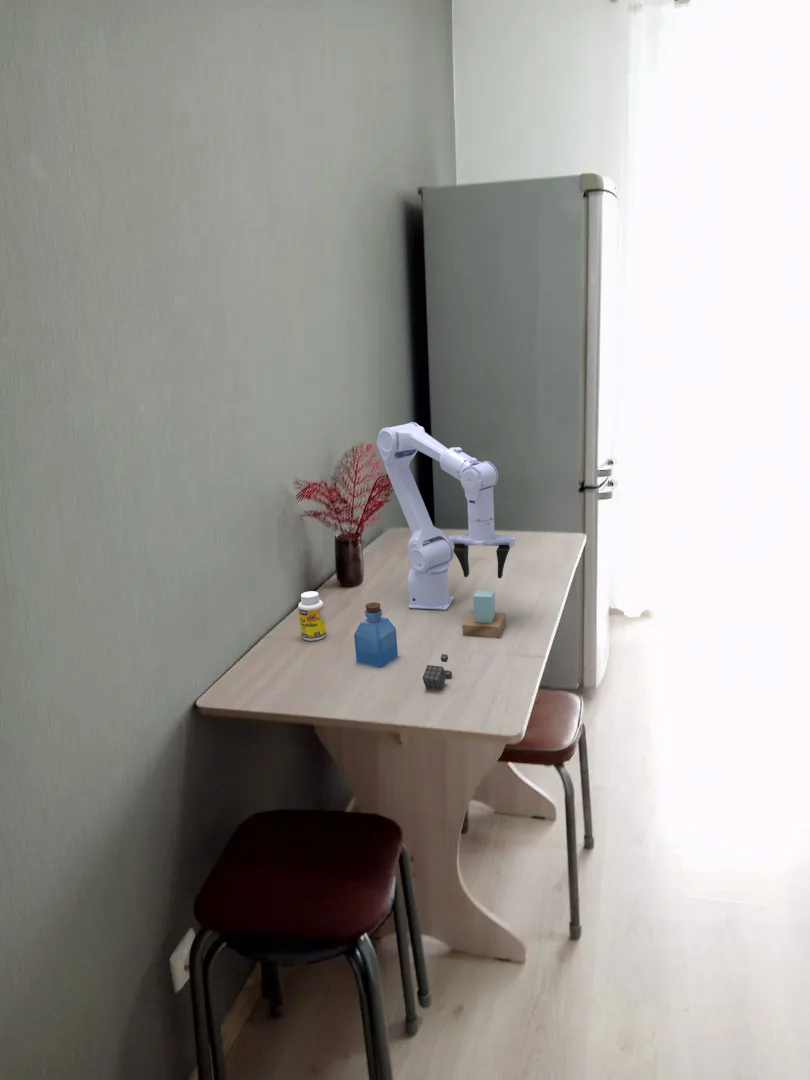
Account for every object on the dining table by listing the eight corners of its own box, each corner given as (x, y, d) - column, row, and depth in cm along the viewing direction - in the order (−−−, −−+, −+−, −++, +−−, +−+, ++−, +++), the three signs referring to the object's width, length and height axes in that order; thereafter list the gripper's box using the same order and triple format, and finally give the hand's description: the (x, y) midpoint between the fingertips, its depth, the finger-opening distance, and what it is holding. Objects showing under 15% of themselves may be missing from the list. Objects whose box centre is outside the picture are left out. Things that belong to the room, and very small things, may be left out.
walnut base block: (463, 637, 178) (462, 625, 177) (471, 623, 185) (470, 611, 185) (499, 640, 176) (498, 627, 175) (506, 625, 183) (505, 613, 182)
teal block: (474, 622, 178) (473, 596, 177) (477, 615, 182) (476, 590, 180) (492, 622, 177) (491, 597, 176) (495, 616, 181) (494, 590, 179)
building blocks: (422, 678, 154) (434, 645, 159) (428, 695, 157) (440, 662, 162) (438, 680, 152) (450, 646, 158) (444, 697, 156) (455, 664, 161)
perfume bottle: (381, 667, 165) (377, 612, 162) (356, 662, 169) (351, 608, 165) (397, 655, 170) (393, 602, 167) (373, 650, 174) (368, 598, 170)
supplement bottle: (297, 641, 181) (292, 597, 178) (307, 631, 186) (303, 589, 183) (320, 642, 180) (316, 599, 177) (330, 632, 185) (326, 590, 182)
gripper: (444, 522, 178) (447, 581, 182) (510, 523, 174) (512, 583, 177) (452, 513, 184) (455, 570, 188) (516, 514, 180) (517, 572, 184)
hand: (483, 576), depth 183 cm, fingers open, 7 cm apart
